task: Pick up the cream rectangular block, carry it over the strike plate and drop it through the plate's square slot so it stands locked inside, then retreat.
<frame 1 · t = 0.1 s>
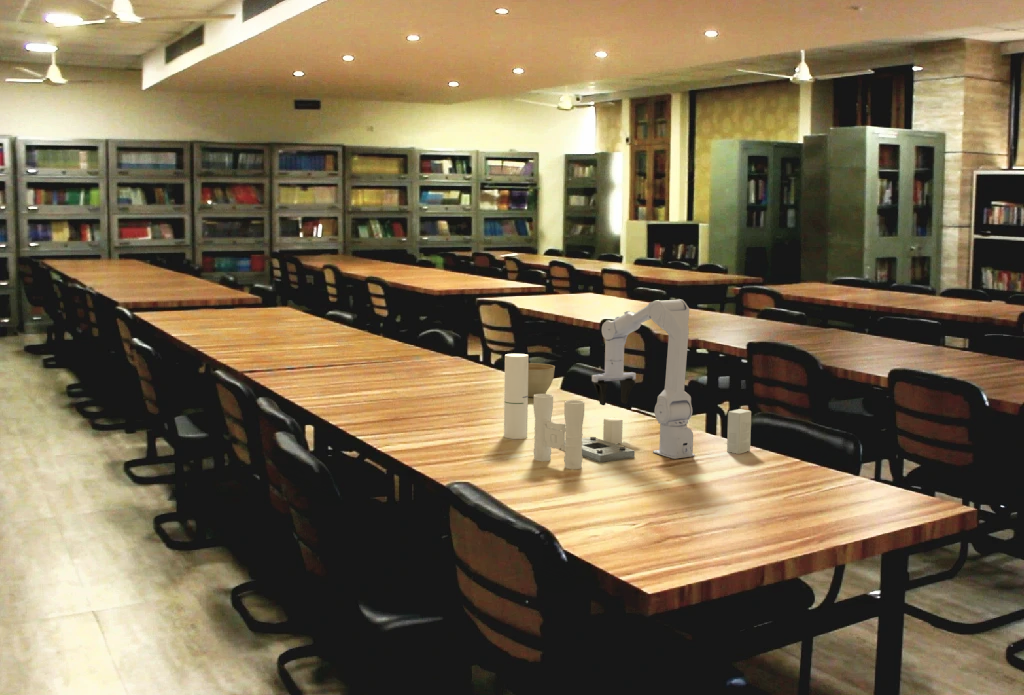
hand: (613, 403, 326), 10 cm above the table, fingers open, 7 cm apart
binoculars: (557, 463, 292), on the table
cream rectangular block: (612, 442, 318), on the table
strike plate: (596, 452, 305), on the table
planter bowl: (532, 395, 393), on the table
cylindrical container: (515, 436, 325), on the table
skincare box: (738, 452, 309), on the table
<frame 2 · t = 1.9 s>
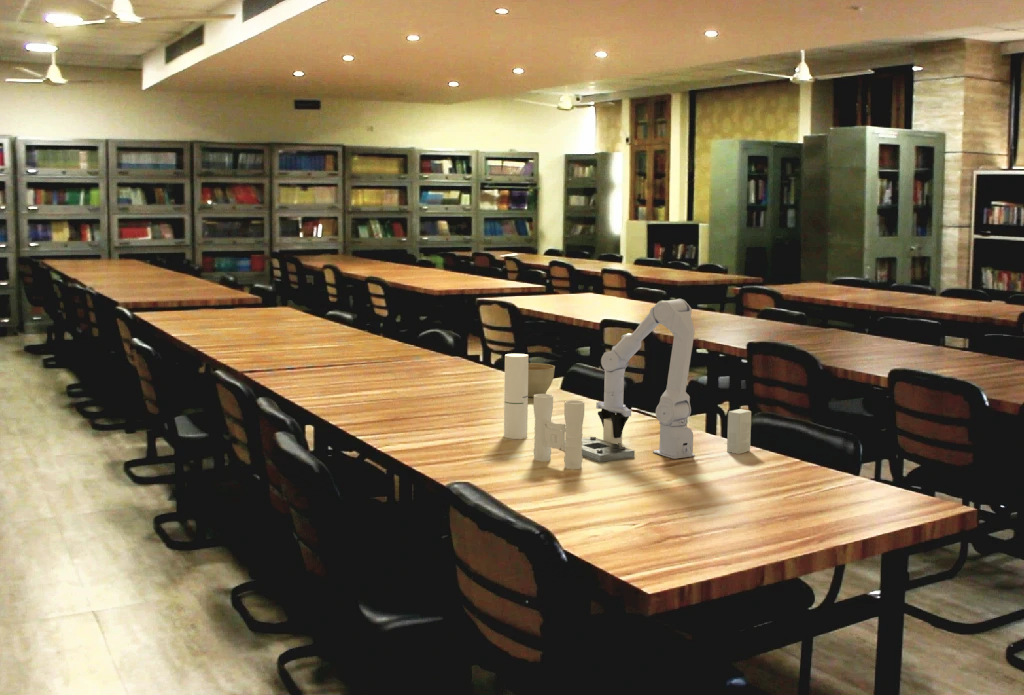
hand: (612, 436, 318), 2 cm above the table, fingers closed on cream rectangular block, 4 cm apart
cream rectangular block: (612, 442, 318), on the table, touching gripper
everything else where it was.
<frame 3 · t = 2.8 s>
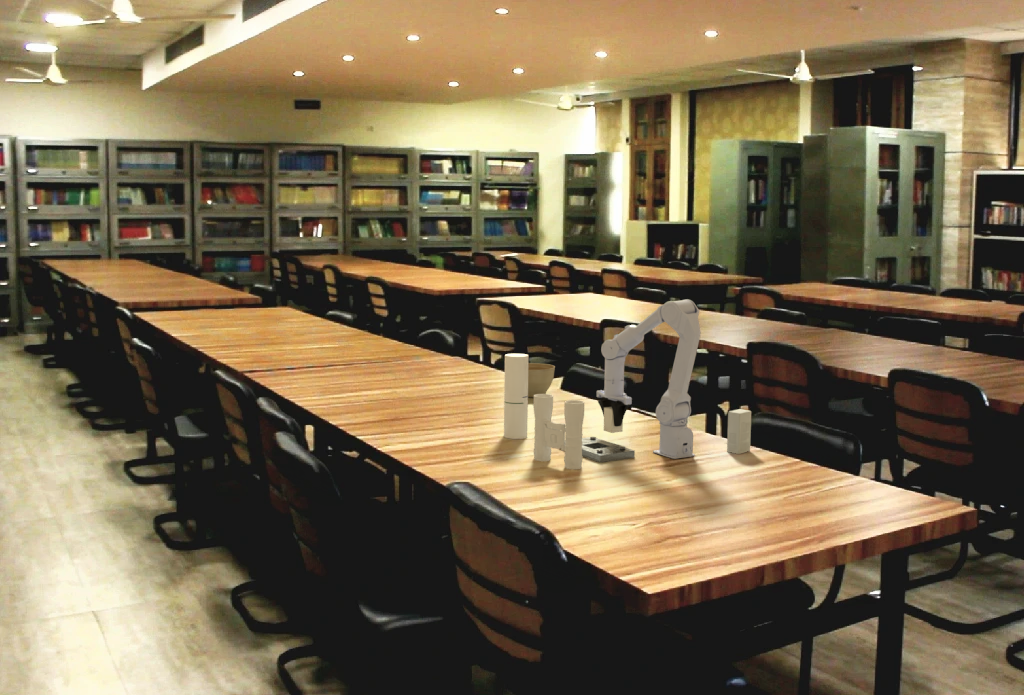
hand: (613, 424, 317), 5 cm above the table, fingers closed on cream rectangular block, 4 cm apart
cream rectangular block: (613, 431, 318), point 3 cm above the table, touching gripper
everything else where it was.
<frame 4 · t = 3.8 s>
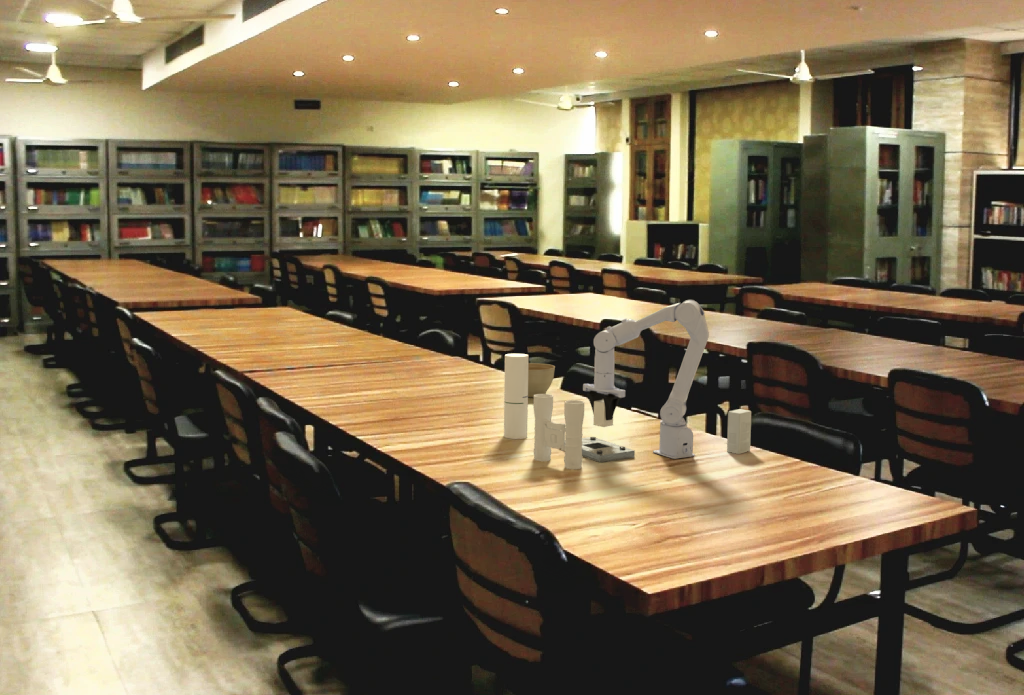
hand: (603, 418, 309), 9 cm above the table, fingers closed on cream rectangular block, 4 cm apart
cream rectangular block: (603, 425, 309), point 7 cm above the table, touching gripper
everything else where it was.
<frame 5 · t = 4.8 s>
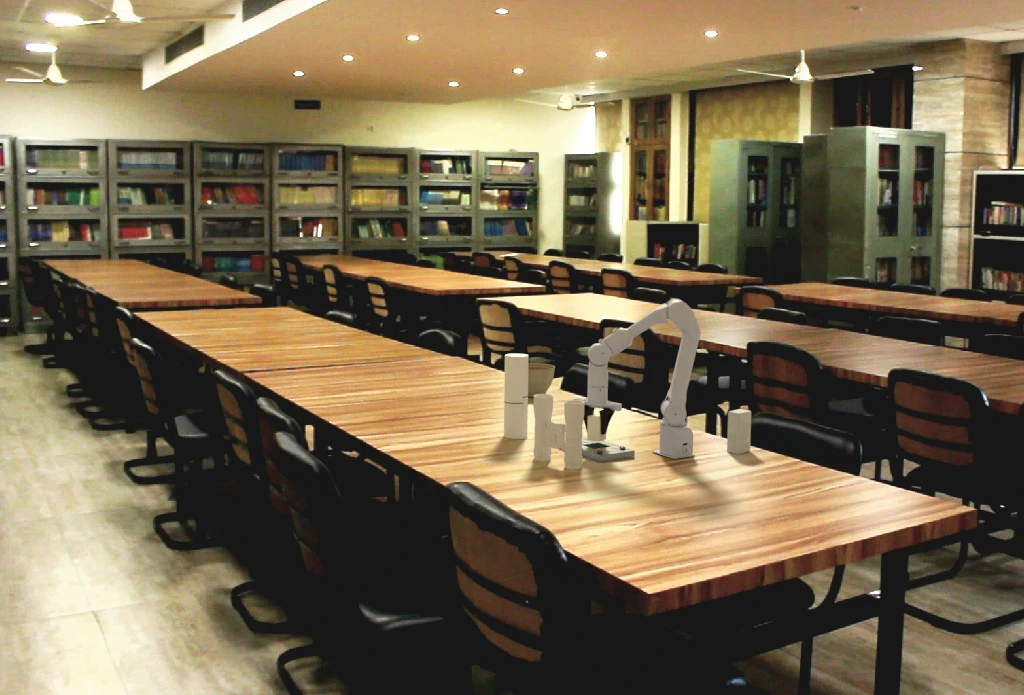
hand: (596, 432, 304), 6 cm above the table, fingers closed on cream rectangular block, 4 cm apart
cream rectangular block: (596, 439, 305), point 4 cm above the table, touching gripper
everything else where it was.
when the fingers open (3 cm above the table, at t = 5.6 s): cream rectangular block drops 1 cm, resting in strike plate.
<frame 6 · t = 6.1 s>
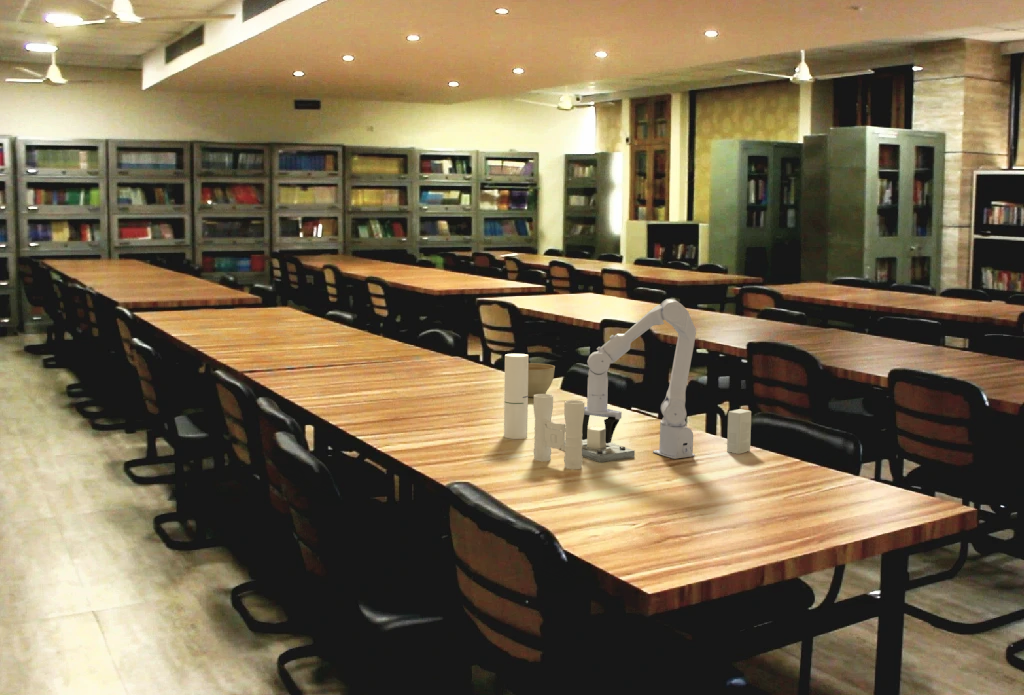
hand: (596, 440, 305), 3 cm above the table, fingers open, 7 cm apart
cream rectangular block: (596, 452, 305), resting in strike plate
everything else where it was.
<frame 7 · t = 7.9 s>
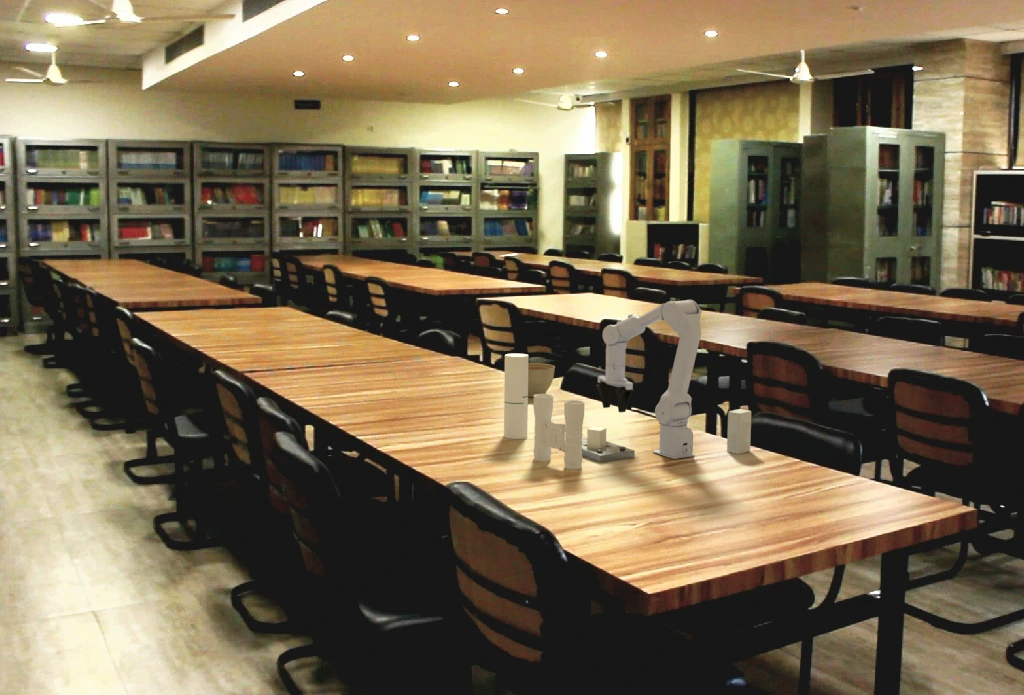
hand: (614, 409, 319), 9 cm above the table, fingers open, 7 cm apart
nothing on the table moved.
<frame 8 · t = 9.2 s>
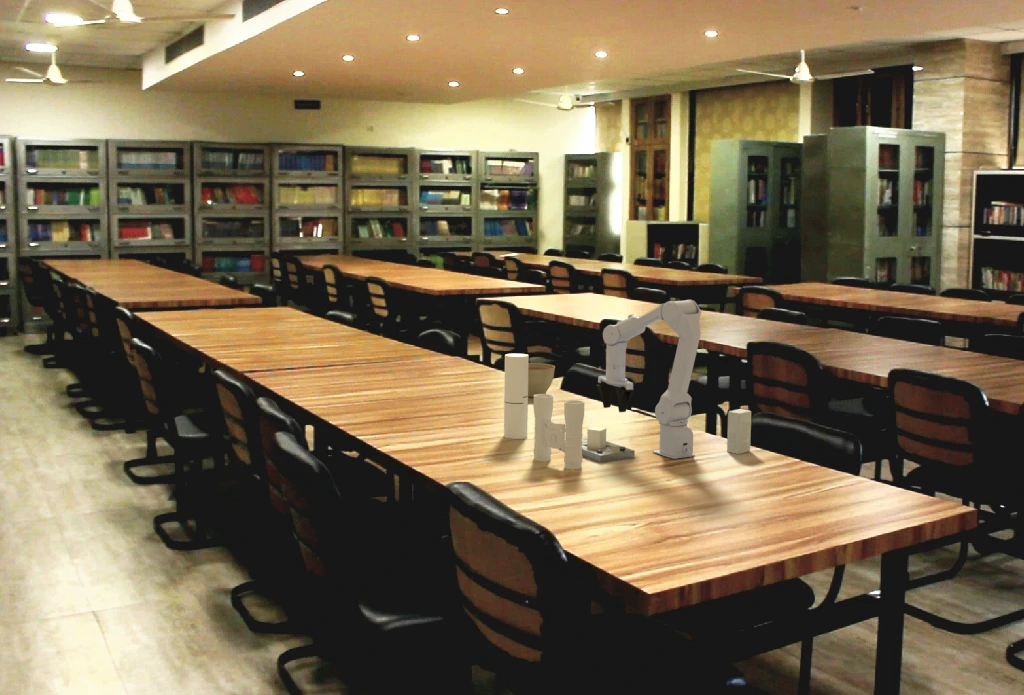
hand: (614, 409, 320), 9 cm above the table, fingers open, 7 cm apart
nothing on the table moved.
at the end: cream rectangular block 0.2 cm off-centre on the strike plate, point 0.0 cm above the strike plate's base; cream rectangular block tilted 0°; the gripper is holding nothing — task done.
